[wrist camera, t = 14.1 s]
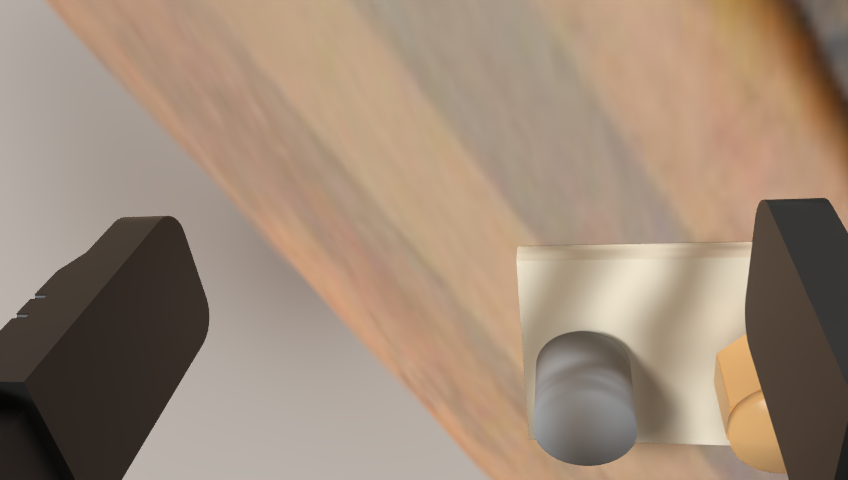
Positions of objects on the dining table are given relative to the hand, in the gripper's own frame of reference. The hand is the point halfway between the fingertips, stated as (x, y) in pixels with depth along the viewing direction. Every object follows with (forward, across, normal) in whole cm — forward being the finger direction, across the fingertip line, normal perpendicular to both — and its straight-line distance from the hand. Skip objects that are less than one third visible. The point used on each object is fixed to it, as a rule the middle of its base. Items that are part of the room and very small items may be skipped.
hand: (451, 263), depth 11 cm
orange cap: (+26, -12, +25) cm, 38 cm away
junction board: (+28, -7, +25) cm, 38 cm away
